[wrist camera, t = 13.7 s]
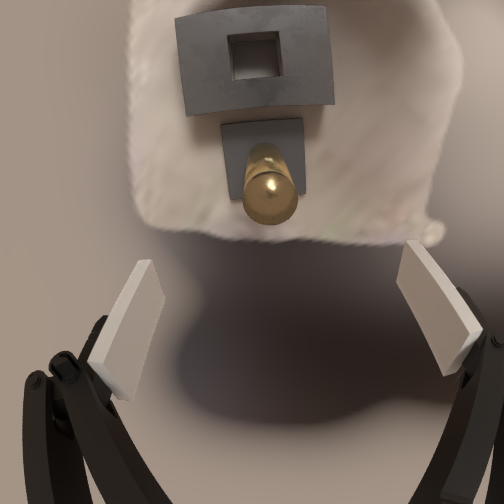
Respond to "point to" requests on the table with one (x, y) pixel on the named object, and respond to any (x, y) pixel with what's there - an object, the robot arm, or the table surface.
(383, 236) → the table surface
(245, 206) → the gold metal cylinder
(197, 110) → the housing
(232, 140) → the mat
